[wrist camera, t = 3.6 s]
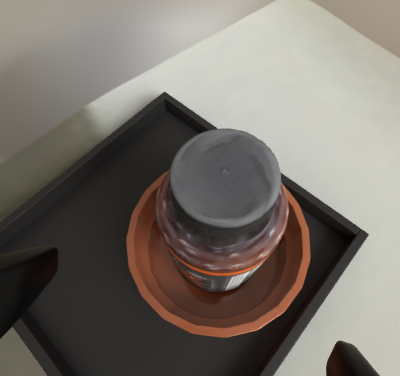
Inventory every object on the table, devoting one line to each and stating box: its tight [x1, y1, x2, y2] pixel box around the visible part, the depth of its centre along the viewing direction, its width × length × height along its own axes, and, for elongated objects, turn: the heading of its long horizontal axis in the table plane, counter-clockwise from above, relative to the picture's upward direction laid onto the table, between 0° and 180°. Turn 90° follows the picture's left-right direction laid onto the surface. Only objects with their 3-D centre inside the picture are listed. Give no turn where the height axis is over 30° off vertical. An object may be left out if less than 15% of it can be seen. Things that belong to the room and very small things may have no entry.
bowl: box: [126, 171, 310, 338], centre depth 19 cm, size 11×11×4 cm
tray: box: [0, 92, 369, 376], centre depth 20 cm, size 19×19×2 cm
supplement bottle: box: [155, 129, 289, 292], centre depth 15 cm, size 6×6×11 cm
